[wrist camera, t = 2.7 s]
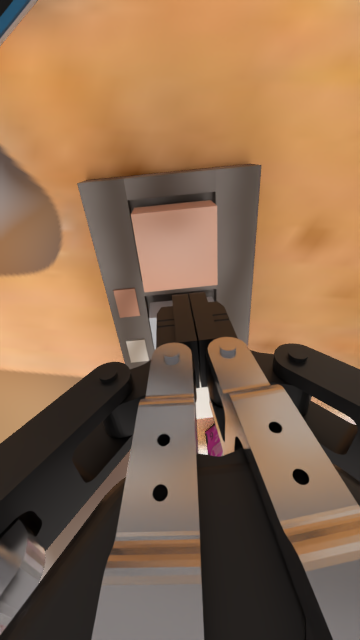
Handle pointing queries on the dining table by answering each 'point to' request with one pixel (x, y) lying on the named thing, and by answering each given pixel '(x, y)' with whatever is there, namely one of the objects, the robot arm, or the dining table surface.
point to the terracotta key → (176, 245)
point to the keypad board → (121, 252)
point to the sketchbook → (12, 15)
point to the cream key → (203, 403)
